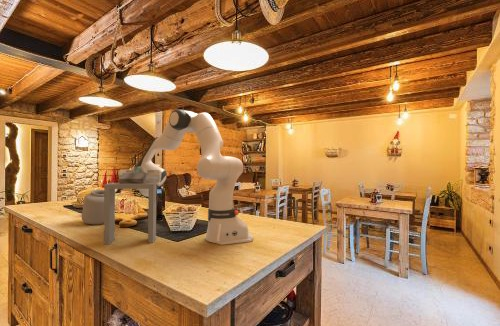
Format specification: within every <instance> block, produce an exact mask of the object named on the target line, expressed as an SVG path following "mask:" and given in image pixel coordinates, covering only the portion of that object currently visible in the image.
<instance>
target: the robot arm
mask: <svg viewBox="0 0 500 326" xmlns="http://www.w3.org/2000/svg"><path fill="white" fill-rule="evenodd" d="M186 133H188V134H195V135H196V138H197V140H198V144H199V146H200V150H201V156H200V158H199V160H198V162H197V165H196V172H197V174H198V176H199V177H200V178H201V179H204V180H210V181H216V182H215V184H214V186H213V188H211V189H210V191H209V192H208V193H209V194H208V195H209V196H208V199H209V200H208V208H207V209H208V210H207V221H208V224H207V230H206V234H205V237H204V238H205V241H206V242H209V243H212V244H213V243H214V244H217V245H221V246H222V245H230V244H231V245H232V244H240V243H241V244H242V243H249V242H250V243H251V242H252V241H253V240H254V235H253V234H252V233H251V232H249V229H248V228H249V227H248V224H247V223H246V222H245V221H244V220H242V219H241V218H240V217H238V215H239V211H238V210H237V209H235V208H234V207H233V206H234V205H233V201H234V190H235V186H236V184H237V181H238V179H239V177H240V176H242V174H243V172H244V164H243V162H242V160H241V159H239V158H238V157H236V156H235V157H234V156H228V155H222V154H221V149H222V148H223V146H224V141H223V138H222V136H221V133H220V130H219V128H218V126H217V123H216V122H215V120H214V119H213V117H212V116H211V114H209V113H208V112H199V113H196V112H194V111H192V110H191V111H190V110H185V109H182V108H181V109H174V110H172V111H171V112H170V115H169V117H168V122H167V123H166V124H165V126H164V128H163V131H162V134H161V135H160V136H158V137H157V136H156V137H154V139H153V140H152V141H151V142H150V144H149V145H148V146H147V149H146V151H145V152H144V153H143V156H141V158H140V159H139V160H138V162H136V165H135V166H132V167H131V169H120V170H119V172H118V177H119V178H120V177H121V175H122V174H123V173H134V172H135V170H136V168H137V167H138V166H140V170H141V171H140V173H146V179H145V181H144V183H156V190H158V188H160V187H161V186H163V185H164V184H165V182H166V181H167V177H168V174H167V170H166V169H164V168H162V167H161V166H159V165H157V164H155V163H153V161H152V159H153V158H154V156H155V154H156V153H157V151H159V150H161V151H174V150H176V149H178V148H179V147H180V145H181V144H182V142H183V138H184V137H185V134H186ZM138 191H139V193H140V194H141V195H142V196H144V197H146V198H147V197H148V198H149V189H138Z"/></svg>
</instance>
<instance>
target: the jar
mask: <svg viewBox="0 0 500 326" xmlns="http://www.w3.org/2000/svg"><path fill="white" fill-rule="evenodd" d="M100 181H101V183H102V182H103V180H102V179H101V180H100ZM81 220H82V222H84V223H86V224H88V225H95V226H97V225H98V226H99V225H104V189H97V188H95V189H94V190H91V191H90V193H88V194H86V195H85V196H84V199H83V206H82V212H81Z"/></svg>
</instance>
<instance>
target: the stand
mask: <svg viewBox="0 0 500 326" xmlns="http://www.w3.org/2000/svg"><path fill="white" fill-rule="evenodd" d="M139 189H149V197H148V203H147V204H148V205H147V206H148V207H147V208H148V210H147V211H148V213H147V214H148V218H147V221H148V222H147V223H148V224H147V226H148V227H147V229H148V230H147V243H148V244H153V243H154V242H155V240H156V239H157V189H156V183H137V184H120V182H109V183H105V184H104V189H103V190H104V224H103V246H107V245H110V244H111V243H113V242H114V241H115V237H116V236H115V233H116V229H115V225H116V222H115V221H116V190H139Z"/></svg>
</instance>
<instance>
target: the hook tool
mask: <svg viewBox="0 0 500 326" xmlns="http://www.w3.org/2000/svg"><path fill="white" fill-rule="evenodd" d="M140 171H141V170H140V166H138V167H137V168H136V170H135V172H134V173H123V174H122V175H121V177H119V178H118V180H119V181H118V183H120V184H137V183H144V181H145V179H146V173H140Z"/></svg>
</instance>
